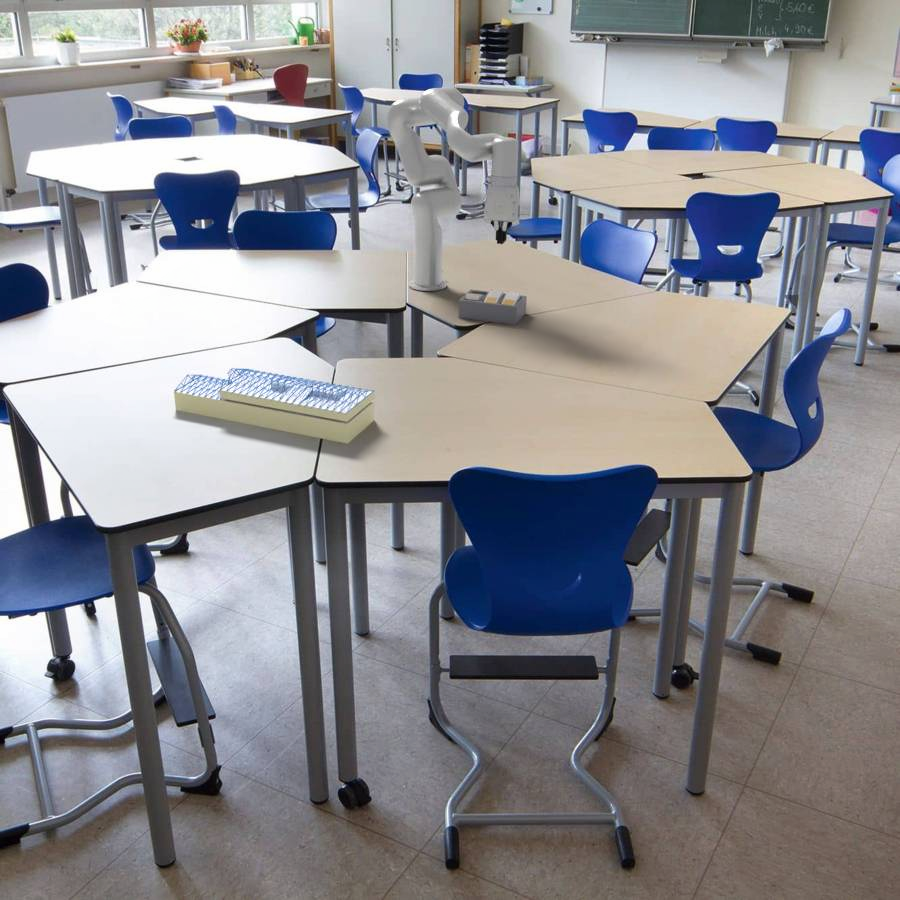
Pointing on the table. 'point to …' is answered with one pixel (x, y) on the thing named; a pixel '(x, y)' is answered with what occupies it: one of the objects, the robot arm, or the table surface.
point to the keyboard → (280, 403)
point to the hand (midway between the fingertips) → (500, 242)
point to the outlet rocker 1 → (474, 296)
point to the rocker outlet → (511, 298)
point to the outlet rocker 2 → (493, 296)
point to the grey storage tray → (492, 309)
